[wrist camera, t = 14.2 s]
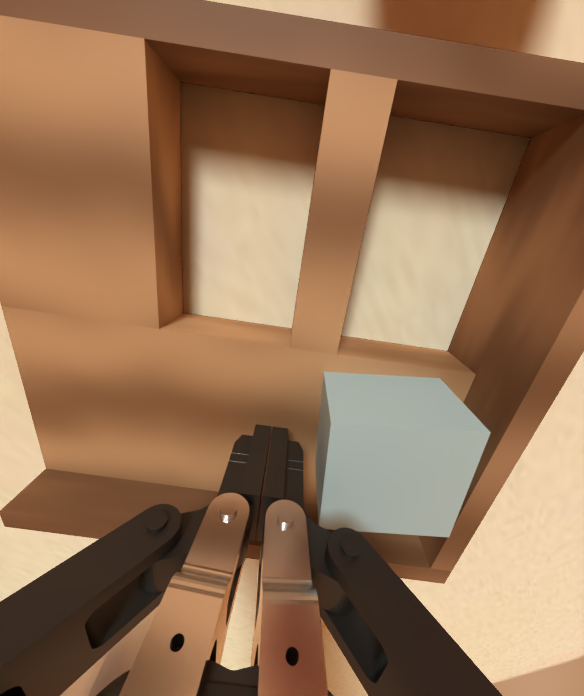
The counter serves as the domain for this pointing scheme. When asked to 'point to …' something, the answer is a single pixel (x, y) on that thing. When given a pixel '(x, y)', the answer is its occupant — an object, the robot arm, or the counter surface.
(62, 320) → the board
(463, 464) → the block
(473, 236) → the counter surface
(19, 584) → the counter surface
